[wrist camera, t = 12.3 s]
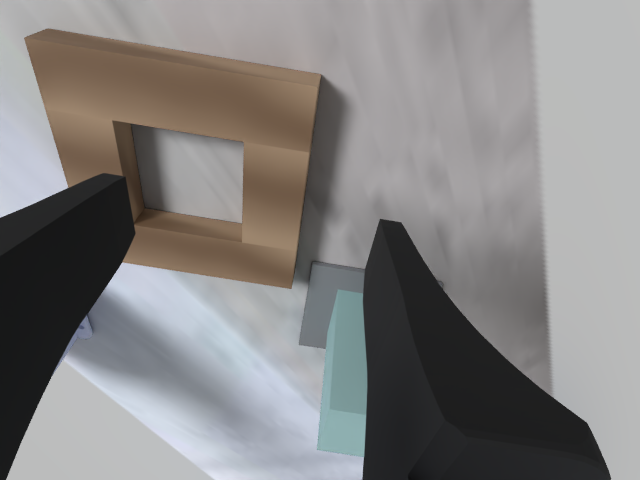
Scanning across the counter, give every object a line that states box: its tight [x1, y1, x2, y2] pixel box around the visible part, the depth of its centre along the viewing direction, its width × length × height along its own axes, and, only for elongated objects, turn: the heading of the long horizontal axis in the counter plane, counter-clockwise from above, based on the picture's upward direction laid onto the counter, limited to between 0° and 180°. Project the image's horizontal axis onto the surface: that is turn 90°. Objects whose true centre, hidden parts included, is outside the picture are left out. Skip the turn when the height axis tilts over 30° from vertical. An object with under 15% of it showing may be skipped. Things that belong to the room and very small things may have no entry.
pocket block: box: [24, 29, 321, 289], centre depth 21 cm, size 12×12×2 cm
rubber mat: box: [299, 261, 443, 349], centre depth 28 cm, size 8×8×1 cm
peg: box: [317, 289, 367, 457], centre depth 24 cm, size 4×4×8 cm
